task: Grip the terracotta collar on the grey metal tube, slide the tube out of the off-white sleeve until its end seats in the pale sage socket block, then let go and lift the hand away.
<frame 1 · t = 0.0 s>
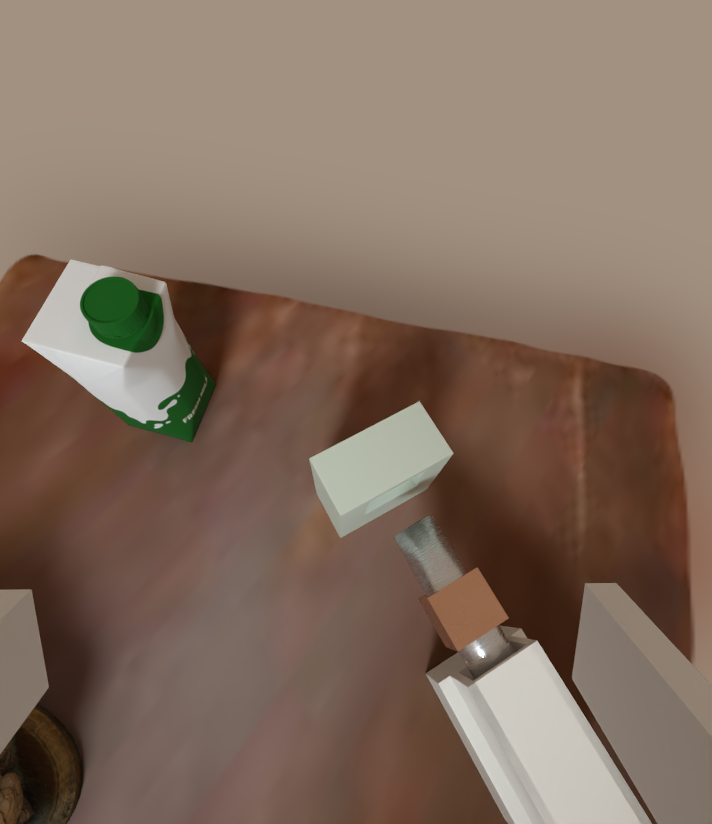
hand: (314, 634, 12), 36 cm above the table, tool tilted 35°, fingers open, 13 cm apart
sleeve: (501, 715, 42), on the table
socket block: (372, 491, 49), on the table
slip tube: (479, 639, 36), point 9 cm above the table, slide at 0.0 cm
milk carton: (173, 404, 52), on the table
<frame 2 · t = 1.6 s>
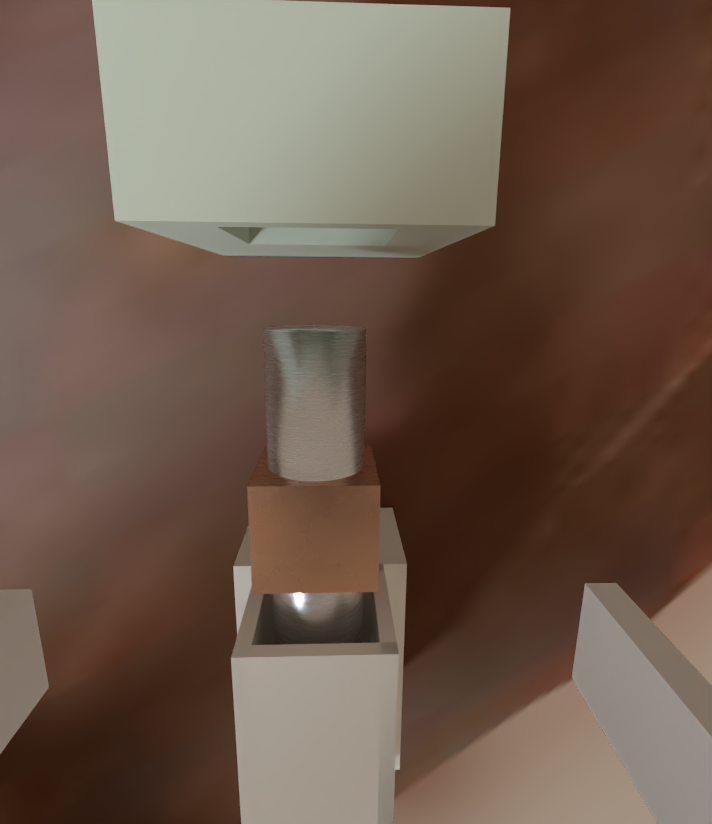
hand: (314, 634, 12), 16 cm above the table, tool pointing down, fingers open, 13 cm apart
sleeve: (324, 598, 30), on the table
socket block: (321, 204, 25), on the table
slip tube: (318, 570, 19), point 9 cm above the table, slide at 0.0 cm
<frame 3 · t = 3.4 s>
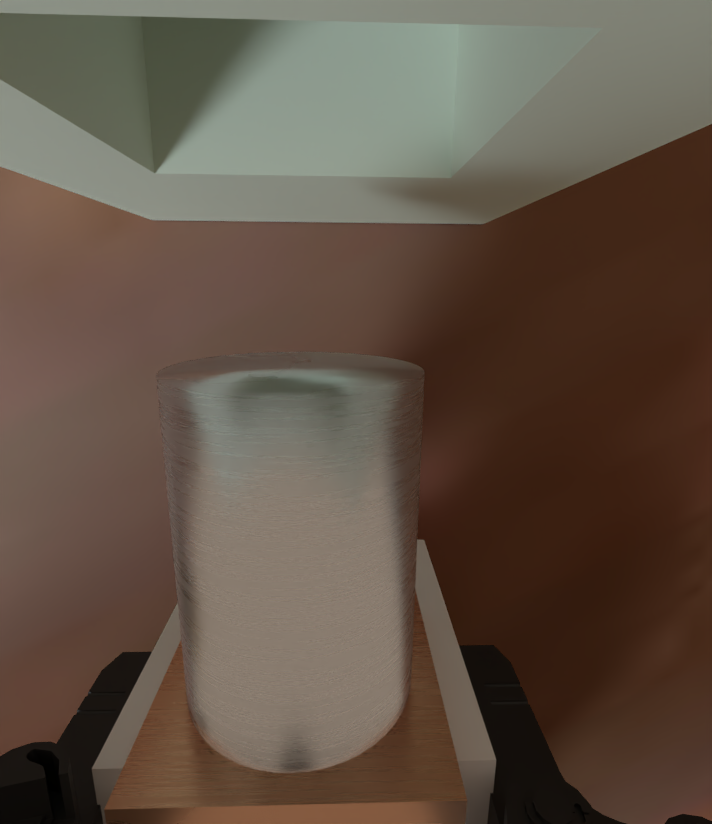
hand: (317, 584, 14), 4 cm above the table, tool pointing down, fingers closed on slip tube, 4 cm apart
socket block: (318, 130, 14), on the table
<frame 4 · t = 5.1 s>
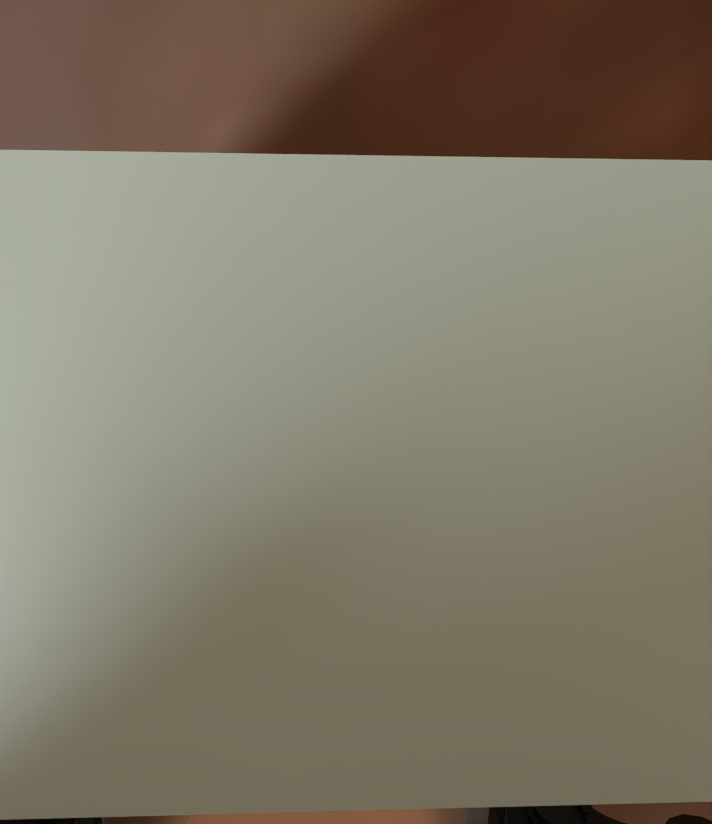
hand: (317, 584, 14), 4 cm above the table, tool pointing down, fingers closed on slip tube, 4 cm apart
socket block: (320, 340, 16), on the table
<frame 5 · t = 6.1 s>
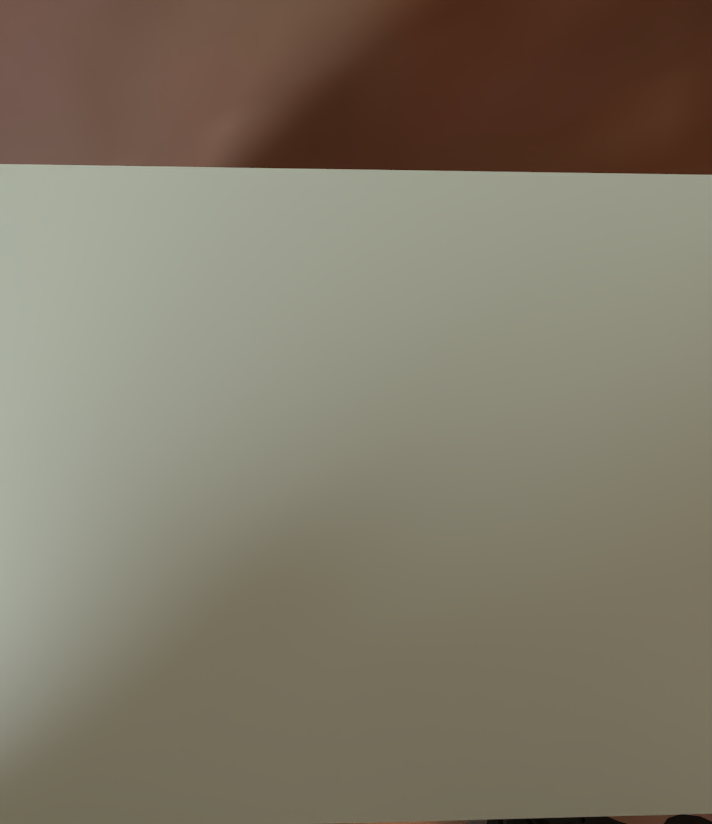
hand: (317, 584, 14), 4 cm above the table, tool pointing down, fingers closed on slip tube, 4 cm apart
socket block: (320, 342, 16), on the table
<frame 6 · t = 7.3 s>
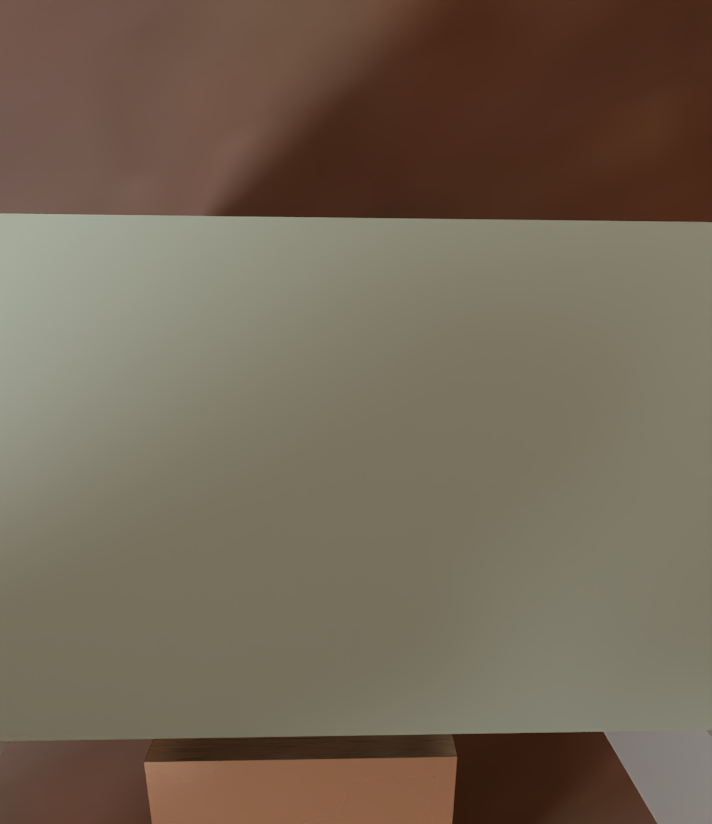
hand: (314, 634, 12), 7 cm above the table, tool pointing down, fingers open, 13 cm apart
socket block: (326, 344, 17), on the table
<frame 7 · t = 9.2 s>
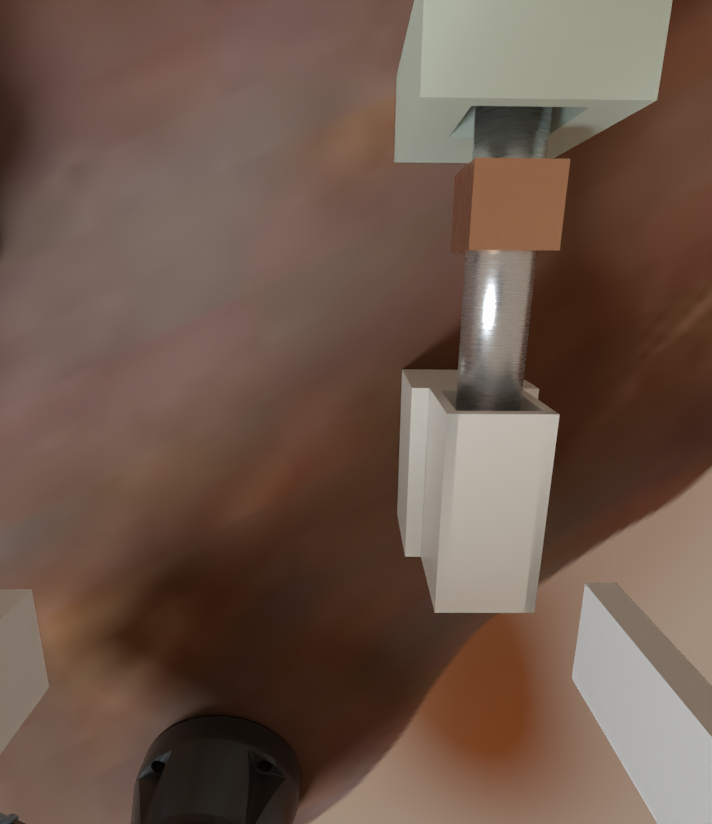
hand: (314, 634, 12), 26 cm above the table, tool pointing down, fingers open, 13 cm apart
sleeve: (450, 445, 38), on the table
socket block: (471, 121, 32), on the table
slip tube: (499, 261, 26), point 9 cm above the table, slide at 6.0 cm
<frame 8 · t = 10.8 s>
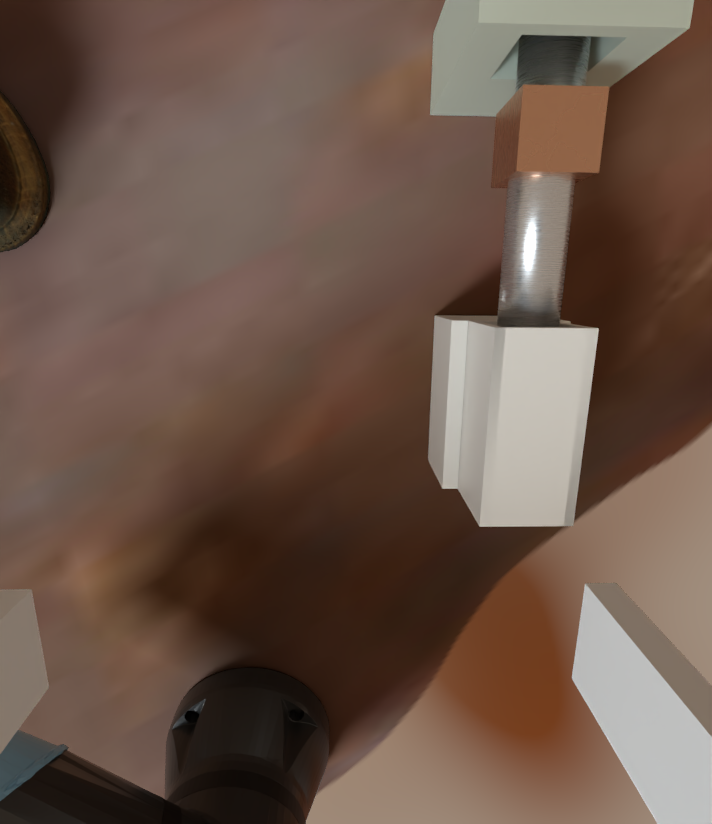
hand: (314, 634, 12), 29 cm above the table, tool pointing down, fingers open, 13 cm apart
sleeve: (479, 390, 40), on the table
socket block: (502, 76, 34), on the table
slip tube: (540, 190, 28), point 9 cm above the table, slide at 6.0 cm
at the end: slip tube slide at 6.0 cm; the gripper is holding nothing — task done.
